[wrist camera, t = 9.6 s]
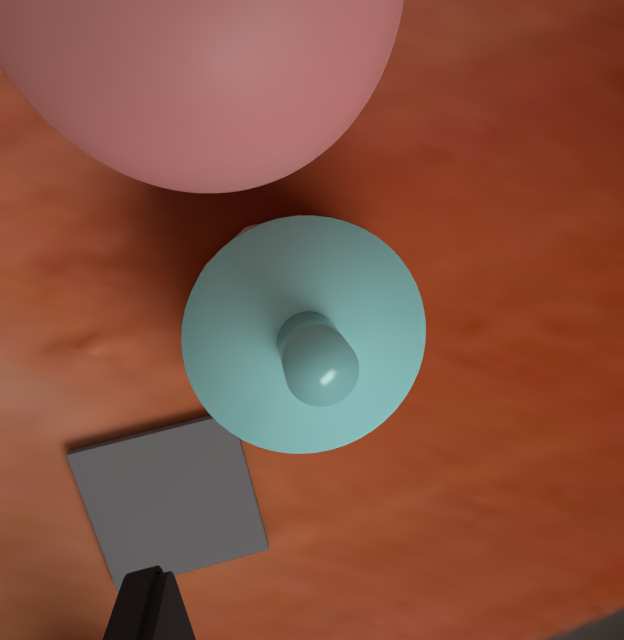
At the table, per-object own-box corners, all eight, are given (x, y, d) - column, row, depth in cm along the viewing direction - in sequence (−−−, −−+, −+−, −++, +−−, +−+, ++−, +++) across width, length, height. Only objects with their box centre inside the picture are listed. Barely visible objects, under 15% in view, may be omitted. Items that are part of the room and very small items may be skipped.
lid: (399, 191, 24) (444, 187, 19) (433, 413, 27) (481, 464, 22) (153, 245, 23) (126, 257, 17) (218, 469, 26) (212, 537, 20)
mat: (232, 409, 30) (232, 413, 30) (268, 543, 33) (268, 549, 32) (69, 450, 30) (66, 455, 29) (119, 584, 32) (117, 591, 32)
